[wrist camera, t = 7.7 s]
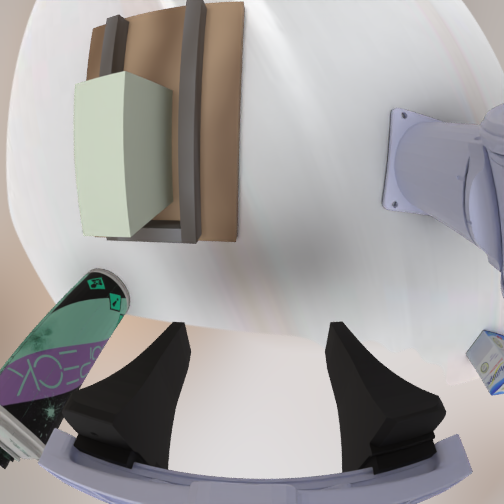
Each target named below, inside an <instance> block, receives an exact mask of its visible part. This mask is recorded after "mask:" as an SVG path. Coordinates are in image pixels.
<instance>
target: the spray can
mask: <svg viewBox="0 0 504 504" xmlns="http://www.w3.org/2000/svg"><path fill="white" fill-rule="evenodd" d="M129 305H130V298H129V294H128V291H127V289H126V287H125V285H124V284H123V283H122V281H121V280H120V279H119V278H118V277H117V276H115V275H114V274H113V273H111V272H109V271H107V270H104V269H94V270H91V271H90V272H89V273H87V274H86V275H85V276H84V277H83V278H82V279H81V280H80V281H79V282H78V283H77V284H76V285H75V286H74V287H73V288H72V289H71V290H70V291H69V292H68V293H67V294H66V295H65V296H64V297H63V298H62V299H61V300H60V301H59V302H58V303H57V304H56V305H55V306H54V307H53V309H51V311H50V312H49V313H48V314H47V315H46V316H45V317H44V318H43V319H42V320H41V322H40V323H39V324H38V325H37V326H36V327H35V328H34V329H33V330H32V332H31V333H30V334H29V335H28V336H27V337H26V339H25V340H24V341H23V342H22V343H21V345H20V346H19V347H18V348H17V349H16V351H15V352H14V353H13V354H12V356H11V357H10V358H9V359H8V361H7V362H6V363H5V365H4V366H3V367H2V368H1V370H0V466H2V467H3V468H4V469H6V467H7V466H8V463H9V461H12V462H13V461H14V459H15V460H16V461H18V462H19V461H20V458H24V459H36V460H38V461H39V459H40V457H41V455H42V453H43V450H44V448H45V446H46V444H47V442H48V440H49V438H50V436H51V434H52V432H53V430H54V428H57V429H58V428H59V426H60V424H61V422H62V420H63V418H64V416H63V414H62V410H63V408H64V406H65V404H66V402H67V401H68V399H69V397H70V395H71V394H72V392H74V391H77V390H79V388H80V387H81V385H82V383H83V381H84V380H85V378H86V376H87V374H88V373H89V371H90V369H91V367H92V366H93V364H94V363H95V361H96V359H97V358H98V356H99V354H100V353H101V351H102V349H103V348H104V346H105V345H106V343H107V341H108V340H109V338H110V337H111V335H112V333H113V332H114V330H115V329H116V327H117V326H118V324H119V323H120V321H121V320H122V318H123V316H124V315H125V313H126V312H127V310H128V308H129Z"/></svg>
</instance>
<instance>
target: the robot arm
mask: <svg viewBox="0 0 504 504" xmlns="http://www.w3.org/2000/svg"><path fill="white" fill-rule="evenodd" d="M402 113H404V115H405V118H404V119H403V118H402ZM395 201H396V205H395V206H392V204H393V202H395ZM383 207H384V208H385V209H387V210H392V211H401V212H409V213H417V214H424V215H431V216H432V217H434V218H435V219H437V220H439V221H440V222H442V223H444V224H445V225H447V226H448V227H450V228H451V229H453V230H454V231H456V232H457V233H459V234H460V235H462V236H463V237H465V238H466V239H468V240H469V241H471V242H472V243H474V244H475V245H476V246H478V247H479V248H480V249H482V250H483V251H484V252H486V254H487V256H488V260H489V263H490V264H491V265H493V266H494V267H495V268H496V269H497V270H499V271H500V272H501V291H502V295H503V298H504V104H501V105H499V106H496V107H494V108H492V109H491V110H489V111H488V112H487V114H486V115H485V118H484V120H483V121H482V122H481V124H480V125H477V124H463V123H446V122H443V121H440V120H437V119H434V118H431V117H428V116H425V115H422V114H418V113H415V112H412V111H408V110H405V109H401V108H394V109H393V110H392V111H391V126H390V141H389V153H388V163H387V172H386V181H385V188H384V195H383ZM190 355H191V349H190V345H189V340H188V336H187V332H186V327H185V323H183V322H173V323H172V324H171V325H170V326H169V327H168V328H167V329H166V330H165V331H164V332H163V333H162V334H161V335H160V336H159V337H158V338H157V339H156V340H155V341H154V342H153V343H152V344H151V345H150V346H149V347H148V348H147V349H146V350H145V351H143V352H142V353H141V354H140V355H139V356H138V357H137V358H136V359H134V360H133V361H132V362H130V363H129V364H128V365H126V366H125V367H124V368H122V369H121V370H119V371H117V372H116V373H114V374H112V375H111V376H109V377H107V378H106V379H103V380H102V381H99V382H97V383H95V384H93V385H91V386H88V387H86V388H83V389H80V390H77V391H74V392H72V394H71V395H70V397H69V399H68V401H67V402H66V404H65V406H64V408H63V410H62V414H63V416H64V418H65V419H66V421H67V422H68V423H69V424H70V425H71V426H72V427H73V429H74V430H75V431H76V432H77V433H78V436H77V438H75V437H74V436H72V435H70V434H68V433H66V432H63V431H61V430H59V429H57V428H54V430H53V432H52V434H51V436H50V438H49V440H48V442H47V444H46V446H45V448H44V450H43V453H42V455H41V457H40V459H39V461H38V464H39V465H40V466H41V467H43V468H44V469H45V470H47V471H48V472H49V473H51V474H52V475H54V476H55V477H56V478H58V479H59V480H61V481H62V482H64V483H65V484H67V485H70V486H71V487H73V488H75V489H77V490H79V491H81V492H84V493H86V494H88V495H90V496H93V497H95V498H97V499H99V500H101V501H104V502H106V503H109V504H417V503H419V502H422V501H424V500H427V499H429V498H431V497H434V496H436V495H438V494H440V493H442V492H444V491H446V490H448V489H449V488H451V487H453V486H454V485H456V484H457V483H459V482H460V481H462V480H463V479H465V478H466V477H467V476H469V475H470V474H472V472H473V471H472V468H471V466H470V463H469V460H468V457H467V455H466V452H465V449H464V447H463V445H462V442H461V439H460V437H459V435H458V434H456V435H453V436H451V437H448V438H446V439H443V440H441V441H439V442H437V443H436V444H434V443H433V439H434V438H435V435H434V432H433V431H434V430H435V429H436V427H437V426H438V425H439V424H440V423H441V422H442V420H443V419H444V417H445V415H446V410H445V408H444V406H443V403H442V401H441V400H440V398H439V396H437V395H435V394H432V393H429V392H427V391H425V390H422V389H420V388H418V387H416V386H414V385H413V384H411V383H409V382H407V381H405V380H404V379H402V378H400V377H399V376H398V375H396V374H395V373H393V372H392V371H391V370H389V369H388V368H387V367H385V366H384V365H383V364H382V363H380V362H379V361H378V360H377V359H376V358H375V357H374V356H373V355H372V354H371V353H370V352H369V351H368V350H367V349H366V348H365V347H364V346H363V345H362V344H361V343H360V342H359V340H358V339H357V338H356V337H355V336H354V335H353V334H352V332H351V331H350V330H349V329H348V328H347V326H346V325H345V324H344V323H343V322H330V328H329V333H328V339H327V344H326V349H325V355H326V363H327V369H328V373H329V377H330V381H331V385H332V388H333V392H334V396H335V400H336V403H337V409H338V415H339V423H340V432H341V446H342V473H337V474H330V475H322V476H313V477H302V478H285V479H243V478H226V477H215V476H205V475H197V474H190V473H184V472H178V471H172V470H168V460H169V448H170V440H171V433H172V426H173V420H174V415H175V409H176V405H177V401H178V398H179V395H180V392H181V389H182V386H183V383H184V380H185V377H186V374H187V370H188V367H189V361H190Z"/></svg>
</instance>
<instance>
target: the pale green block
mask: <svg viewBox="0 0 504 504" xmlns="http://www.w3.org/2000/svg"><path fill="white" fill-rule="evenodd" d="M172 94H173V90H171V89H168V88H166V87H164V86H161V85H159V84H157V83H154V82H152V81H150V80H147V79H145V78H142V77H140V76H137V75H135V74H132V73H130V72H127V71H123V72H118V73H114V74H110V75H106V76H102V77H98V78H95V79H91V80H88V81H84V82H81V83H78V84H75V93H74V159H75V174H76V185H77V194H78V202H79V210H80V217H81V223H82V229H83V235H84V236H103V237H132V236H133V235H134V234H135V233H136V232H137V231H138V230H140V229H141V228H142V227H143V226H144V225H146V224H147V223H148V222H149V221H150V220H151V219H153V218H154V217H155V216H156V215H157V214H159V213H160V212H161V211H162V210H164V209H165V208H166V207H167V206H169V205H170V204H171V203H172V202H173V185H172Z"/></svg>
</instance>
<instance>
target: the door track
mask: <svg viewBox="0 0 504 504" xmlns="http://www.w3.org/2000/svg"><path fill="white" fill-rule="evenodd" d="M244 9H245V8H244V2H219V3H206V4H205V3H204V1H203V0H187V2H186V6H181V7H175V8H169V9H163V10H158V11H153V12H149V13H144V14H140V15H136V16H132V17H128V18H125V19H124V18H123V17H122V16H120V15H116V16H113V17H110V18H107V21H106V24H105V25H102V26H99V27H96V28H93V32H92V38H91V44H90V51H89V59H88V68H87V79H86V81H88V80H91V79H95V78H98V77H102V76H106V75H110V74H114V73H118V72H123V71H127V72H130V73H132V74H135V75H137V76H140V77H142V78H145V79H147V80H150V81H152V82H154V83H157V84H159V85H161V86H164V87H166V88H168V89H171V90H173V94H172V185H173V202H172V203H171V204H170V205H169V206H167V207H166V208H165V209H164V210H162V211H161V212H160V213H159V214H157V215H156V216H155V217H154V218H153V219H151V220H150V221H149V222H148V223H147V224H146V225H144V226H143V227H142V228H141V229H140V230H138V231H137V232H136V233H135V234H134V235H133V236H132V237H106V238H107V240H114V241H141V242H167V243H192V244H196V243H197V241H198V240H200V241H224V242H236V239H237V223H238V170H239V132H240V100H241V73H242V50H243V28H244ZM94 237H103V236H94Z"/></svg>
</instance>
